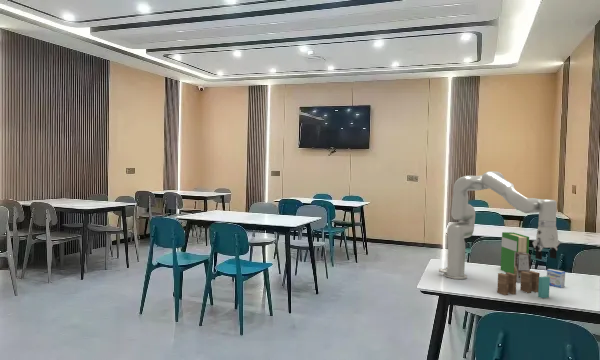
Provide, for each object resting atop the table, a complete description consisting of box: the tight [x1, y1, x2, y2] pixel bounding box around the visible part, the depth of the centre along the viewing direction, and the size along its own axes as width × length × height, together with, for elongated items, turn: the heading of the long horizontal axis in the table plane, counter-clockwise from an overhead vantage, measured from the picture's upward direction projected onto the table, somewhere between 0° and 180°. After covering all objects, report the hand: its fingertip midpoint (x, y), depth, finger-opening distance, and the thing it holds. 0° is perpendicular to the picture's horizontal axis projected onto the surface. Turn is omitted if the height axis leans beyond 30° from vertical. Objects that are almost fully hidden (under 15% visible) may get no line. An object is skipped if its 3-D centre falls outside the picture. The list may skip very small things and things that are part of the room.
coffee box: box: [514, 252, 532, 284], centre depth 251 cm, size 9×6×16 cm
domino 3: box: [519, 271, 532, 294], centre depth 229 cm, size 2×5×10 cm, turn 20°
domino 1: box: [496, 272, 509, 296], centre depth 224 cm, size 2×5×10 cm, turn 21°
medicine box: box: [546, 268, 566, 289], centre depth 244 cm, size 8×4×9 cm, turn 36°
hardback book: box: [500, 231, 530, 274], centre depth 271 cm, size 18×7×24 cm, turn 3°
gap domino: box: [537, 275, 551, 299], centre depth 220 cm, size 2×5×10 cm, turn 111°
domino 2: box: [505, 272, 517, 295], centre depth 226 cm, size 2×5×10 cm, turn 21°
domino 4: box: [529, 270, 541, 293], centre depth 231 cm, size 2×5×10 cm, turn 20°
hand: (545, 258), depth 220 cm, fingers open, 9 cm apart
